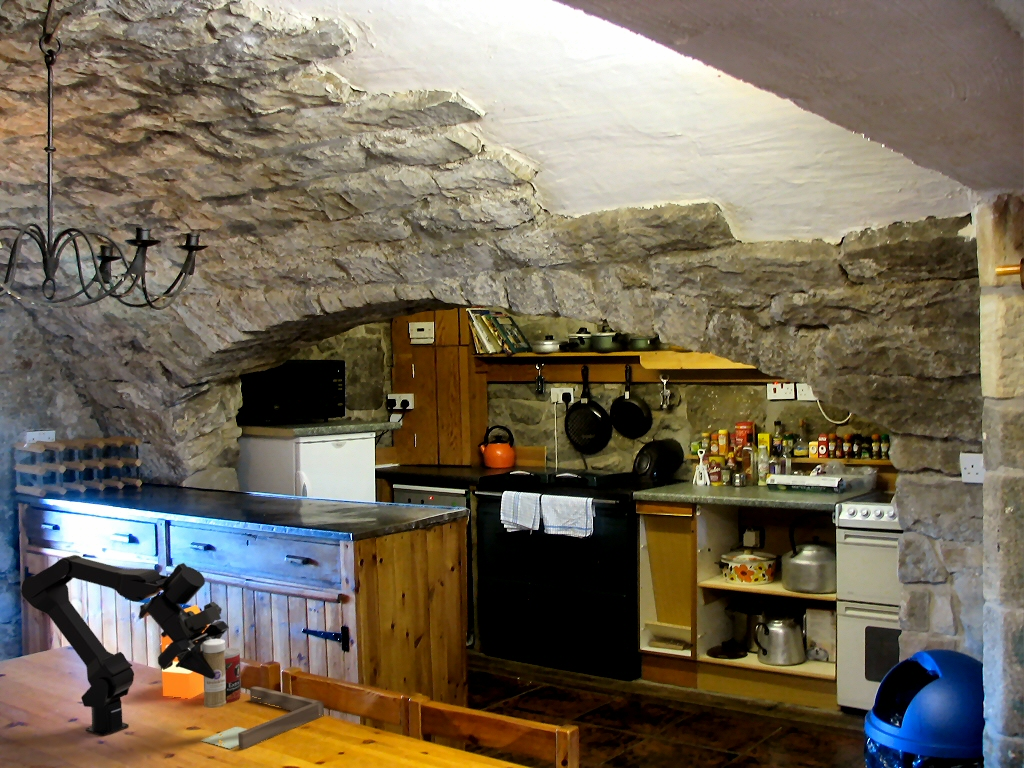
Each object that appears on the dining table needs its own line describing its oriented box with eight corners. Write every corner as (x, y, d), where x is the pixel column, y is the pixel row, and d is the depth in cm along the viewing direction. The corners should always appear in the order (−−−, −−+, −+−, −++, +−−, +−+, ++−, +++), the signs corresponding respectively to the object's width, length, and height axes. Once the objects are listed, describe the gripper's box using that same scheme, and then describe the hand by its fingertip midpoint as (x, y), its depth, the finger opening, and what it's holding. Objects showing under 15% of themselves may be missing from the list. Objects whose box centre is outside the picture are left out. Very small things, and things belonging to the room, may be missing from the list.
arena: (168, 731, 203) (167, 717, 203) (255, 699, 222) (255, 686, 222) (237, 752, 190) (237, 737, 190) (323, 715, 209) (323, 702, 209)
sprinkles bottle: (210, 710, 196) (208, 645, 195) (200, 705, 199) (198, 641, 199) (230, 704, 199) (229, 640, 199) (220, 699, 202) (218, 636, 202)
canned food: (231, 704, 218) (229, 657, 218) (199, 703, 220) (198, 656, 220) (247, 693, 226) (245, 647, 226) (216, 692, 228) (214, 646, 228)
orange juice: (162, 696, 226) (159, 612, 226) (186, 684, 234) (183, 603, 234) (190, 699, 224) (187, 614, 224) (213, 687, 232) (210, 605, 232)
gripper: (169, 603, 191) (220, 661, 188) (220, 583, 209) (266, 636, 206) (136, 640, 192) (185, 698, 190) (188, 617, 211) (234, 670, 208)
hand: (220, 674), depth 198 cm, fingers closed on sprinkles bottle, 4 cm apart
